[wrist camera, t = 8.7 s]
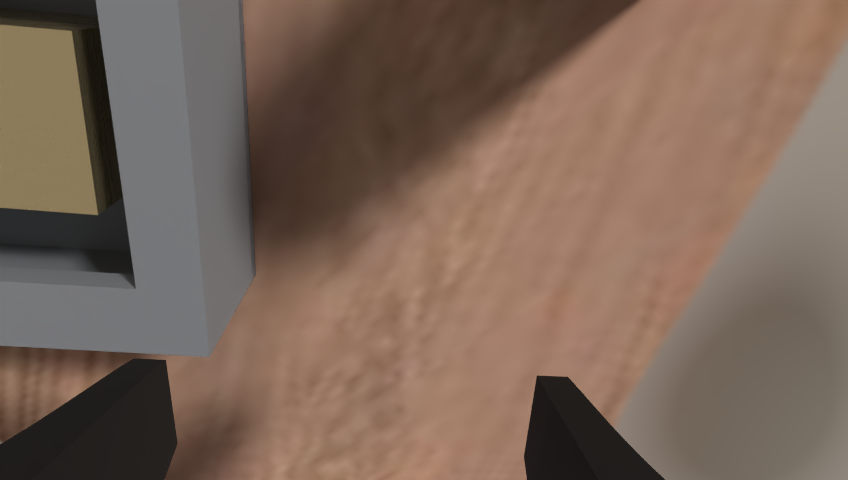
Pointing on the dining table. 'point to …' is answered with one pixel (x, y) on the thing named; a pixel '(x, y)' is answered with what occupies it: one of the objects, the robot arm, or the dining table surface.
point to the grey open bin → (146, 194)
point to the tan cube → (55, 115)
